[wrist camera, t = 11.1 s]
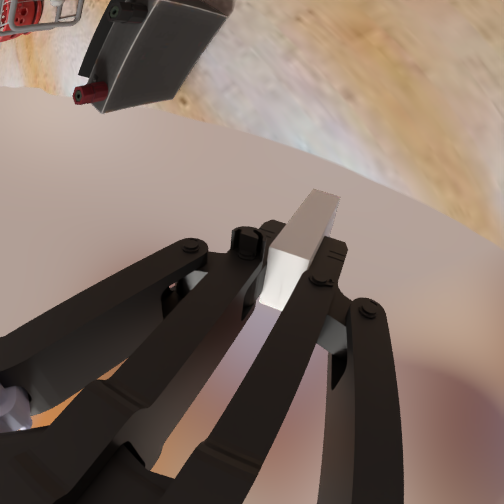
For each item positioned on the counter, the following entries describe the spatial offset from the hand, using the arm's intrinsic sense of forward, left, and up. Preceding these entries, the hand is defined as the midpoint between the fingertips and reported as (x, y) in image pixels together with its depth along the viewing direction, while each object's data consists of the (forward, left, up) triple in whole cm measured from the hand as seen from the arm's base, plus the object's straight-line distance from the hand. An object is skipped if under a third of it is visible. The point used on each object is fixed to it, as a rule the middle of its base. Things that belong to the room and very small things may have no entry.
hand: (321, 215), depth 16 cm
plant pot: (+82, -26, -27) cm, 90 cm away
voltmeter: (+32, -12, -27) cm, 43 cm away
